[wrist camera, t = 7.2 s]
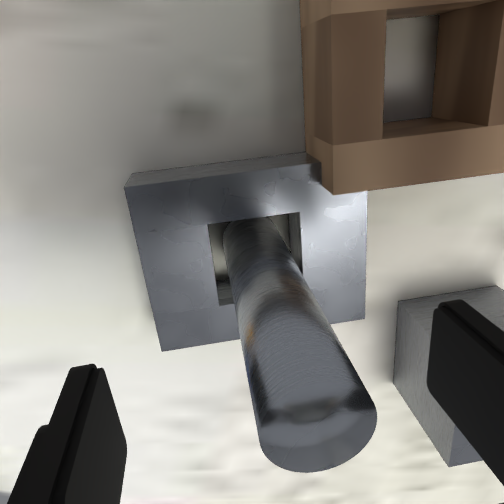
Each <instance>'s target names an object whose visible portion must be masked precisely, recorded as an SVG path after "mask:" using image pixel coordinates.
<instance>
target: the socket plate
mask: <svg viewBox="0 0 504 504" xmlns="http://www.w3.org/2000/svg"><path fill="white" fill-rule="evenodd" d="M124 190H125V194H126V198H127V203H128V207H129V211H130V216H131V220H132V224H133V229H134V233H135V237H136V242H137V246H138V250H139V255H140V259H141V264H142V268H143V272H144V277H145V281H146V285H147V290H148V294H149V298H150V303H151V307H152V311H153V316H154V320H155V324H156V329H157V333H158V338H159V342H160V346H161V351H162V352H163V351H169V350H175V349H181V348H188V347H194V346H200V345H206V344H212V343H218V342H224V341H231V340H237V339H240V334H239V328H238V323H237V317H236V312H235V307H234V301H233V296H232V290H231V285H230V279H226V280H220V281H216V276H215V270H214V263H213V256H212V250H211V243H210V236H209V229H208V224H214V223H221V222H229V221H236V220H243V219H250V218H258V217H265V216H272V215H280V214H287V213H288V214H289V230H290V246H291V255H292V257H293V259H294V261H295V263H296V264H297V266H298V268H299V270H300V272H301V273H302V275H303V277H304V279H305V281H306V282H307V284H308V286H309V288H310V290H311V291H312V293H313V295H314V297H315V299H316V300H317V302H318V304H319V306H320V307H321V309H322V311H323V313H324V315H325V316H326V318H327V320H328V322H329V324H335V323H341V322H347V321H354V320H360V319H365V288H366V241H367V194H368V191H363V192H355V193H348V194H341V195H332V194H331V193H330V192H329V191H328V190H326V189H325V188H324V187H323V186H322V163H321V162H320V161H319V160H317V159H316V158H314V157H313V156H311V155H310V154H308V153H307V152H302V153H294V154H286V155H278V156H269V157H261V158H253V159H245V160H237V161H229V162H221V163H213V164H205V165H197V166H189V167H181V168H173V169H165V170H157V171H148V172H140V173H132V175H131V177H130V178H129V180H128V181H127V183H126V185H125V186H124Z"/></svg>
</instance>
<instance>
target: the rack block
mask: <svg viewBox="0 0 504 504" xmlns="http://www.w3.org/2000/svg"><path fill="white" fill-rule="evenodd" d="M431 15H440V16H439V28H438V41H437V53H436V65H435V78H434V90H433V102H432V115H431V117H428V118H419V119H411V120H402V121H394V122H386V123H383V104H384V75H385V46H386V20H390V19H400V18H411V17H421V16H431ZM300 23H301V47H302V72H303V96H304V120H305V145H306V152H307V153H308V154H310V155H311V156H313V157H314V158H316V159H317V160H319V161H320V162H321V163H322V186H323V187H324V188H325V189H326V190H328V191H329V192H330V193H331V194H332V195H341V194H348V193H355V192H363V191H370V190H378V189H385V188H393V187H400V186H408V185H415V184H422V183H430V182H437V181H445V180H452V179H460V178H467V177H475V176H482V175H489V174H497V173H504V0H300Z"/></svg>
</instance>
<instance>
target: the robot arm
mask: <svg viewBox="0 0 504 504" xmlns="http://www.w3.org/2000/svg"><path fill="white" fill-rule="evenodd" d="M427 387H428V390H429V392H430V393H431V395H432V396H433V397H434V399H435V400H436V401H437V402H438V404H439V405H440V406H441V408H442V409H443V410H444V411H445V413H446V414H447V415H448V416H449V418H450V419H451V420H452V421H453V423H454V424H455V425H456V426H457V428H458V429H459V430H460V431H461V433H462V434H463V435H464V436H465V438H466V439H467V440H468V442H469V443H470V444H471V445H472V447H473V448H474V449H475V450H476V452H477V453H478V454H479V455H480V457H481V458H482V459H483V460H484V462H485V463H486V464H487V465H488V467H489V468H490V469H491V470H492V472H493V473H494V474H495V475H496V477H497V478H498V479H499V481H500V482H501V483H502V484H503V486H504V331H502V330H501V329H500V328H499V327H497V326H496V325H495V324H493V323H492V322H491V321H490V320H488V319H487V318H486V317H484V316H483V315H482V314H481V313H479V312H478V311H477V310H475V309H474V308H473V307H472V306H470V305H469V304H468V303H466V302H465V301H464V300H462V299H457V300H451V301H446V302H441V303H440V304H439V305H438V308H436V309H435V310H434V312H433V320H432V330H431V340H430V350H429V360H428V370H427ZM126 457H127V444H126V439H125V436H124V433H123V429H122V426H121V423H120V420H119V416H118V413H117V410H116V407H115V403H114V400H113V397H112V394H111V390H110V387H109V384H108V381H107V377H106V374H105V371H104V369H103V368H98V369H97V367H96V365H95V364H89V365H83V366H77V367H72V368H71V369H70V370H69V373H68V375H67V378H66V380H65V383H64V386H63V388H62V391H61V393H60V396H59V399H58V401H57V404H56V406H55V409H54V412H53V414H52V417H51V419H50V422H49V424H48V425H43V426H41V427H40V428H39V429H38V431H37V433H36V434H35V437H34V439H33V442H32V444H31V447H30V449H29V452H28V454H27V456H26V459H25V461H24V464H23V466H22V469H21V471H20V473H19V476H18V478H17V481H16V483H15V486H14V488H13V490H12V493H11V495H10V498H9V500H8V503H7V504H120V498H121V491H122V485H123V478H124V471H125V464H126ZM500 504H504V503H500Z"/></svg>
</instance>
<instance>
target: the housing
mask: <svg viewBox="0 0 504 504" xmlns="http://www.w3.org/2000/svg"><path fill="white" fill-rule="evenodd" d="M457 299H462V300H464V301H465V302H466V303H468V304H469V305H470V306H472V307H473V308H474V309H475V310H477V311H478V312H479V313H481V314H482V315H483V316H484V317H486V318H487V319H488V320H490V321H491V322H492V323H493V324H495V325H496V326H497V327H499V328H500V329H501V330H502V331H504V290H503V289H501V288H500V287H498V286H491V287H485V288H479V289H472V290H466V291H460V292H454V293H447V294H441V295H435V296H429V297H422V298H416V299H410V300H404V301H398V313H397V330H396V347H395V364H394V380H393V384H394V385H395V387H396V388H397V390H398V391H399V393H400V394H401V396H402V397H403V399H404V400H405V402H406V403H407V405H408V407H409V408H410V410H411V411H412V413H413V414H414V416H415V417H416V419H417V420H418V422H419V423H420V425H421V426H422V428H423V429H424V431H425V432H426V434H427V435H428V437H429V438H430V440H431V441H432V443H433V444H434V446H435V447H436V449H437V450H438V452H439V453H440V455H441V457H442V458H443V460H444V461H445V463H446V464H447V466H448V467H452V466H457V465H462V464H467V463H472V462H477V461H482V460H483V459H482V458H481V457H480V455H479V454H478V453H477V452H476V450H475V449H474V448H473V447H472V445H471V444H470V443H469V442H468V440H467V439H466V438H465V436H464V435H463V434H462V433H461V431H460V430H459V429H458V428H457V426H456V425H455V424H454V423H453V421H452V420H451V419H450V418H449V416H448V415H447V414H446V413H445V411H444V410H443V409H442V408H441V406H440V405H439V404H438V402H437V401H436V400H435V399H434V397H433V396H432V395H431V393H430V392H429V390H428V387H427V370H428V360H429V350H430V340H431V330H432V320H433V312H434V310H435V309H436V308H438V305H439V304H440V303H441V302H446V301H451V300H457Z"/></svg>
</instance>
